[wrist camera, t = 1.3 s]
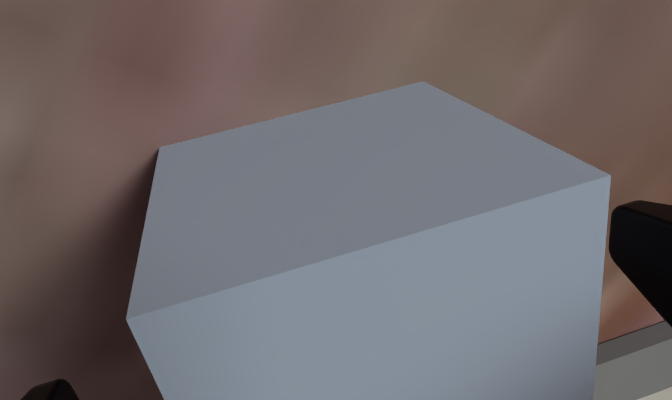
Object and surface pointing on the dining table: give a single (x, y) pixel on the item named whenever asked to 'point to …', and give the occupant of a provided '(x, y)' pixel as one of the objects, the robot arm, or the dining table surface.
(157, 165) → the top block
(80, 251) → the dining table surface
